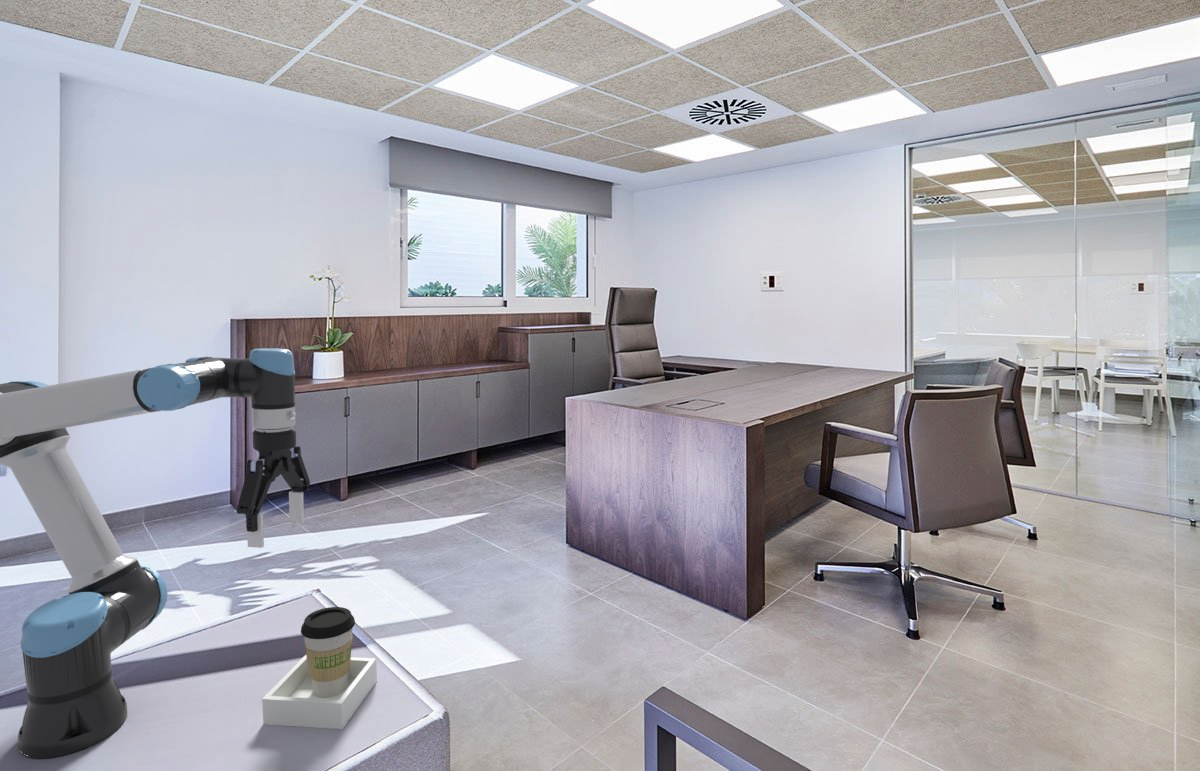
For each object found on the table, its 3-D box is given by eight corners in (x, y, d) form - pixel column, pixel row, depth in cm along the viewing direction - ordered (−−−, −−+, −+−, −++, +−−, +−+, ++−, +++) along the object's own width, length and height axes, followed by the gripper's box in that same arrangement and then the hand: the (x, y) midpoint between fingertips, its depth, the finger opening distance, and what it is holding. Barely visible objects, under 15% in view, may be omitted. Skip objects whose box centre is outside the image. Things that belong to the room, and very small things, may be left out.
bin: (263, 724, 117) (262, 698, 116) (306, 677, 132) (305, 654, 131) (342, 729, 116) (341, 703, 115) (376, 681, 131) (376, 658, 130)
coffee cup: (340, 706, 121) (337, 631, 119) (292, 700, 122) (289, 627, 121) (366, 676, 131) (364, 607, 129) (322, 672, 132) (319, 603, 130)
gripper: (251, 442, 111) (255, 559, 113) (326, 418, 135) (328, 515, 138) (211, 440, 111) (216, 556, 114) (292, 416, 136) (295, 512, 139)
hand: (277, 534), depth 126 cm, fingers open, 13 cm apart
